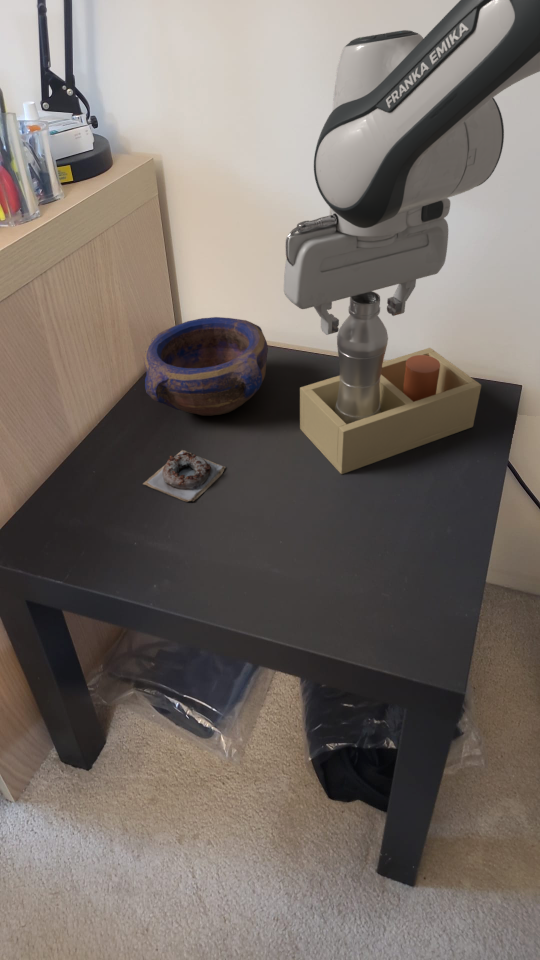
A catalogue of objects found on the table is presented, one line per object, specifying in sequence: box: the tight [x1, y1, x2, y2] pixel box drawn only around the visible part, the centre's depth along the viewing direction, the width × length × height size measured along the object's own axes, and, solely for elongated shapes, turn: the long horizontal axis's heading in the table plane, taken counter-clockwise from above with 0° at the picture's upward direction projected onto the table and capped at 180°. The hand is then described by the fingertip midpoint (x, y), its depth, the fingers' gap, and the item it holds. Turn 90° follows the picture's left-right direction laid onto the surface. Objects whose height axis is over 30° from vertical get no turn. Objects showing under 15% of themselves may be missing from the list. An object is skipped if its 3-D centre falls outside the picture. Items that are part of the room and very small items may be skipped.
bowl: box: [143, 316, 269, 417], centre depth 100 cm, size 18×18×10 cm
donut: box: [142, 449, 226, 503], centre depth 89 cm, size 8×8×2 cm
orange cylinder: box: [403, 355, 440, 402], centre depth 95 cm, size 5×5×8 cm
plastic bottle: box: [334, 291, 389, 424], centre depth 88 cm, size 6×7×20 cm
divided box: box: [299, 347, 482, 475], centre depth 95 cm, size 11×22×7 cm, turn 117°
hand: (363, 322), depth 83 cm, fingers open, 8 cm apart
